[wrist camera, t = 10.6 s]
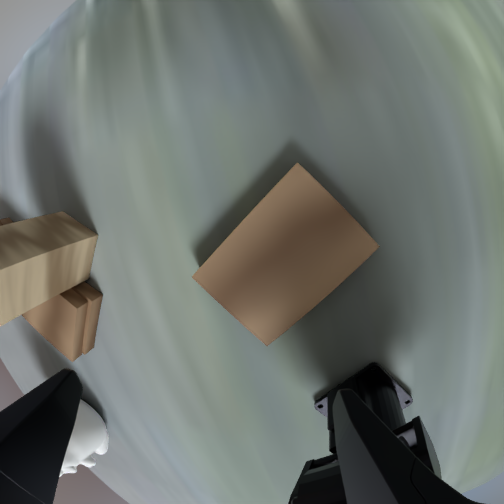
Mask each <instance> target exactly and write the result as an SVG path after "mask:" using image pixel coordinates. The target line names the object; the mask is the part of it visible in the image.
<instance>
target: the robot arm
mask: <svg viewBox="0 0 504 504" xmlns="http://www.w3.org/2000/svg"><path fill="white" fill-rule="evenodd" d="M373 368H376V369H374V370H371V369H373ZM82 391H83V387H82V384H81V382H80V380H79V378H78V376H77V374H76V372H75V371H74V370H70V369H63V370H61V371H60V372H58V373H57V374H55V375H54V376H52V377H51V378H49V379H48V380H46V381H45V382H43V383H42V384H40V385H39V386H37V387H36V388H34V389H33V390H31V391H30V392H29V393H27V394H26V395H24V396H23V397H21V398H20V399H18V400H17V401H15V402H14V403H13V404H11V405H9V406H8V407H7V408H5V409H4V410H2V411H1V412H0V504H53V500H54V496H55V492H56V488H57V483H58V479H59V476H60V472H61V468H62V464H63V461H64V457H65V454H66V451H67V447H68V444H69V441H70V438H71V434H72V431H73V428H74V425H75V421H76V417H77V412H78V408H79V403H80V399H81V395H82ZM407 400H408V401H407ZM412 402H413V399H412V397H411V395H410V394H409V393H408V392H407V391H406V390H405V389H403V388H402V387H401V386H400V385H399V384H398V383H397V382H396V381H395V380H394V379H393V378H392V377H391V376H390V375H389V374H388V373H387V372H386V371H385V370H384V369H383V368H382V367H381V366H380V365H379V364H378V363H375V362H374V363H371V364H369V365H368V366H366V367H365V368H364V369H362V370H361V371H360V372H358V373H357V374H355V375H354V376H353V377H350V378H349V379H348V380H346V381H345V382H343V383H342V384H340V385H339V386H337V387H336V388H334V389H333V390H331V391H330V392H328V394H326V395H325V396H323V397H321V398H320V399H318V400H317V401H316V402H315V406H314V407H315V409H316V410H318V411H319V412H320V413H322V414H323V415H324V416H326V417H327V418H328V430H329V451H330V452H331V453H333V454H332V455H329V456H326V457H323V458H320V459H317V460H314V459H313V460H309V461H307V462H306V463H305V466H304V468H303V470H302V473H301V475H300V477H299V479H298V481H297V483H296V486H295V488H294V490H293V492H292V494H291V497H290V500H289V503H288V504H484V503H478V502H474V501H472V500H470V499H467V498H466V497H464V496H463V495H462V494H460V493H459V492H458V491H456V490H455V489H453V488H452V487H451V486H449V485H448V484H447V483H445V482H444V481H443V480H442V479H441V470H440V464H439V461H438V458H437V455H436V452H435V449H434V446H433V443H432V441H431V439H430V437H429V435H428V433H427V431H426V429H425V427H424V424H423V422H422V420H421V418H420V416H417V417H415V418H414V419H412V421H410V422H408V423H406V422H405V418H404V415H403V411H402V410H403V409H404V408H406V407H407V406H409V405H410V404H411V403H412ZM320 404H322V405H320Z"/></svg>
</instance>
